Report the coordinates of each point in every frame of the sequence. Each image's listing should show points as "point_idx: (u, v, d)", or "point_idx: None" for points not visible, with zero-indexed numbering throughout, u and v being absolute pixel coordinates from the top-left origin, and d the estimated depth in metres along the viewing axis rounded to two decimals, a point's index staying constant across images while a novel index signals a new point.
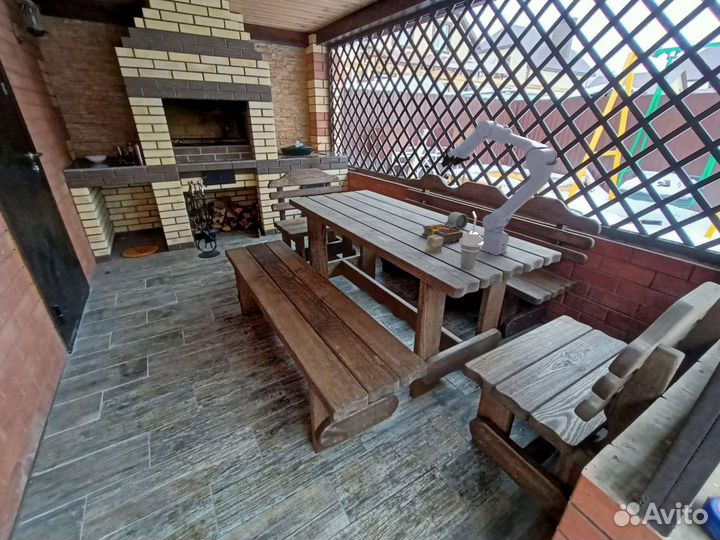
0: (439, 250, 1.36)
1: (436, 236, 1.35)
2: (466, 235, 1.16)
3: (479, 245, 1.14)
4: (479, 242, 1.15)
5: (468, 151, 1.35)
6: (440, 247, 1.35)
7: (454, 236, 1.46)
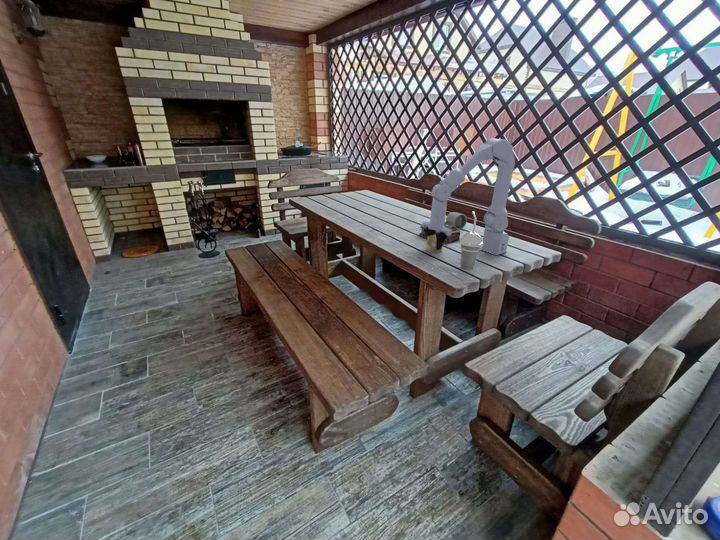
0: (439, 250, 1.36)
1: None
2: (466, 235, 1.16)
3: (479, 245, 1.14)
4: (479, 242, 1.15)
5: None
6: None
7: (451, 236, 1.46)
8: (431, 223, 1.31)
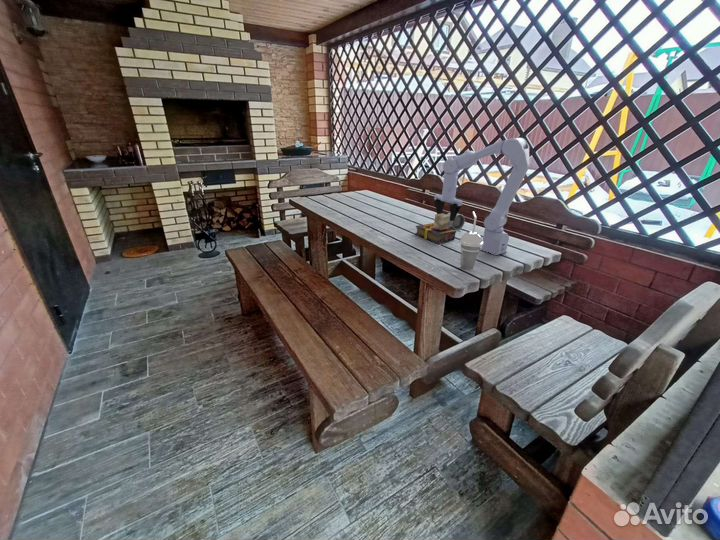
0: (446, 227, 1.49)
1: (443, 214, 1.48)
2: (466, 235, 1.16)
3: (479, 245, 1.14)
4: (479, 242, 1.15)
5: None
6: (446, 224, 1.48)
7: (447, 235, 1.47)
8: (443, 195, 1.42)
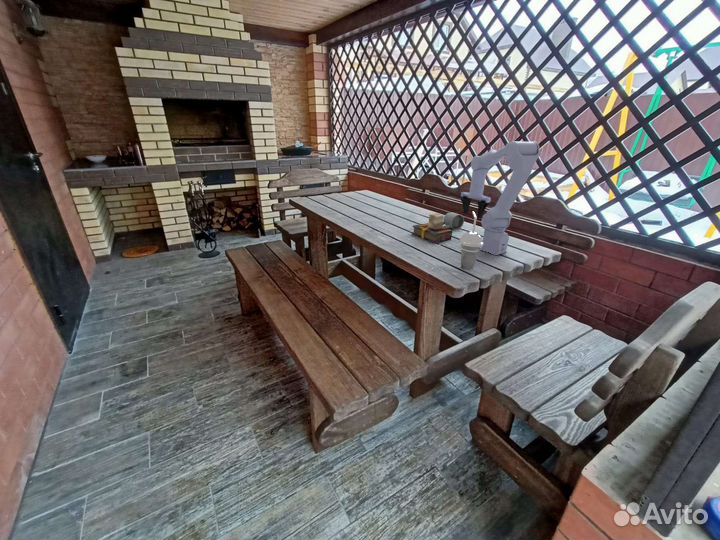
0: (440, 227, 1.50)
1: (437, 214, 1.49)
2: (466, 235, 1.16)
3: (479, 245, 1.14)
4: (479, 242, 1.15)
5: None
6: (440, 224, 1.49)
7: (444, 234, 1.48)
8: (471, 192, 1.44)
